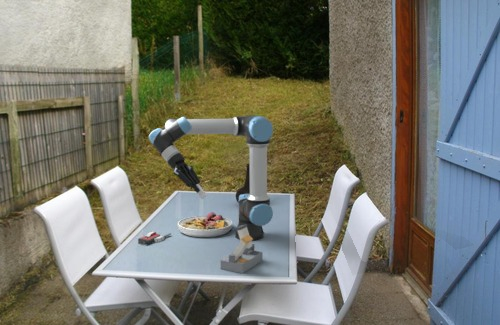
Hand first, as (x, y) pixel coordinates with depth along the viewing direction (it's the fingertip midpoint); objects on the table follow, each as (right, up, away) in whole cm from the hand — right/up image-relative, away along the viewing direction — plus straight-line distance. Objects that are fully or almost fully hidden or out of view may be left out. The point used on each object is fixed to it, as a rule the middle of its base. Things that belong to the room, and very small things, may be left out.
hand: (204, 196), depth 239 cm
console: (+17, -30, 0) cm, 35 cm away
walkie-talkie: (-29, -25, +35) cm, 52 cm away
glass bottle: (+20, -13, +114) cm, 116 cm away
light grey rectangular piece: (+20, -24, +4) cm, 32 cm away
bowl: (-4, -23, +53) cm, 58 cm away
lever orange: (+14, -26, -7) cm, 30 cm away
